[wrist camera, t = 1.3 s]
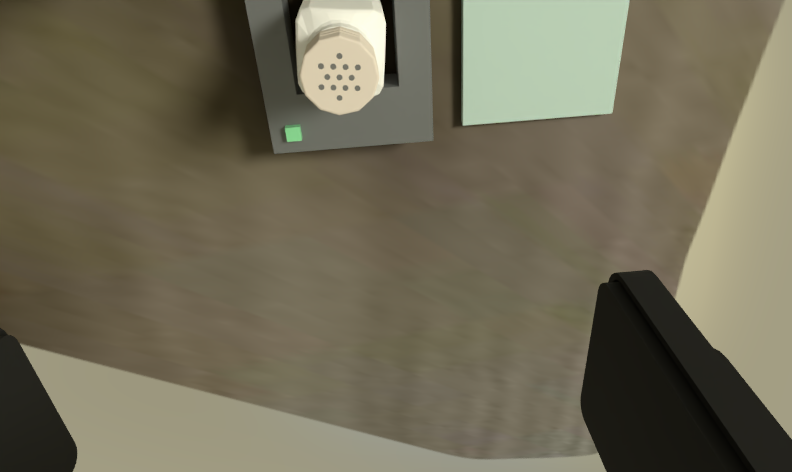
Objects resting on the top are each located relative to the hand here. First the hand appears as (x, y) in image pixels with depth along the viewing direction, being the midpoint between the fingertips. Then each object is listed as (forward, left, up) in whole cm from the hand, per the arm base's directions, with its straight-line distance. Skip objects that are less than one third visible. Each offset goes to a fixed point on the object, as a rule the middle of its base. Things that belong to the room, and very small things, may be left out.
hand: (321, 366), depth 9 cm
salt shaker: (0, 0, -25) cm, 25 cm away
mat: (0, +11, -25) cm, 27 cm away
